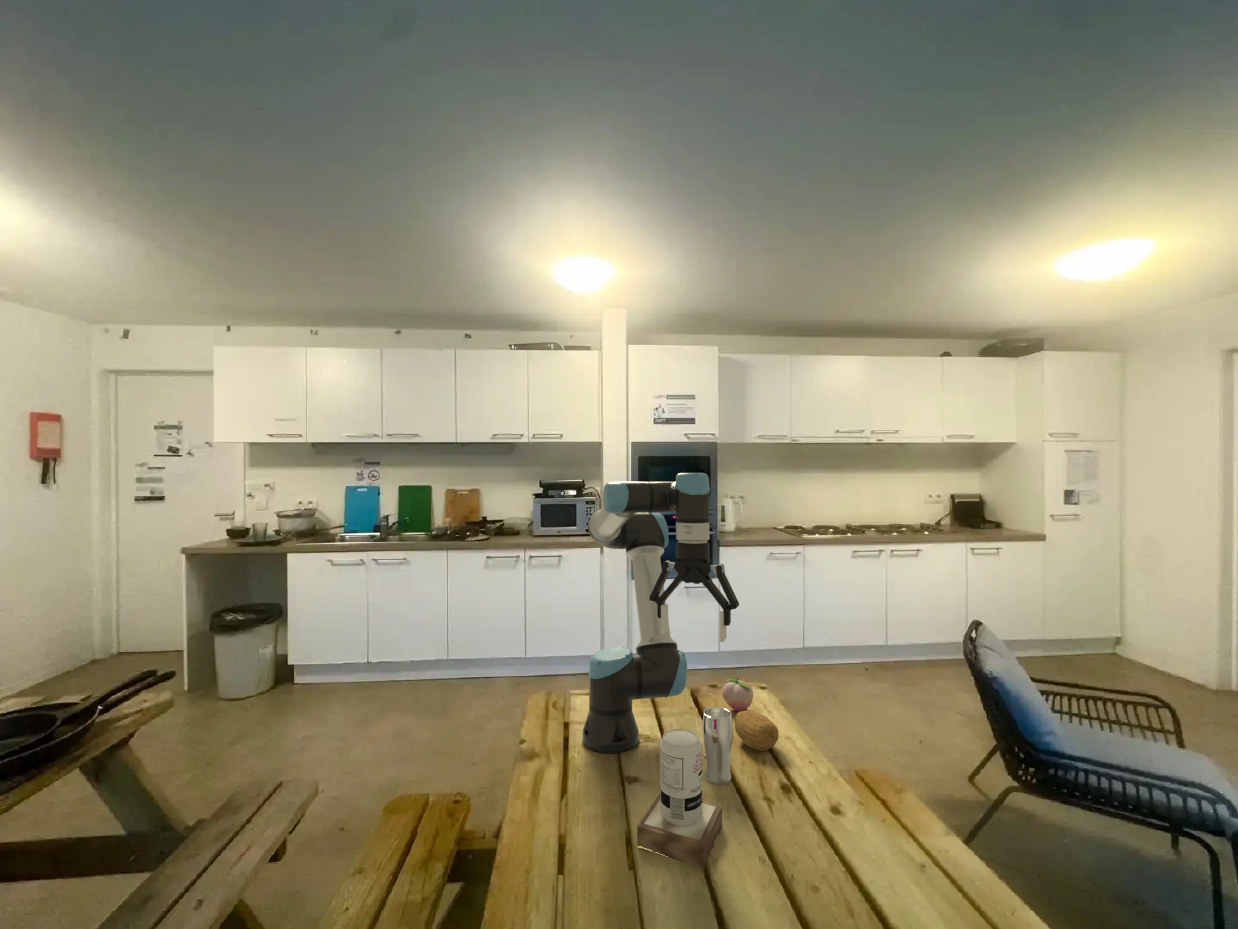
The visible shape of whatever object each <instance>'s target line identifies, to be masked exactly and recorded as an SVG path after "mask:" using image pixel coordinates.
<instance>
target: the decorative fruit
mask: <svg viewBox="0 0 1238 929" xmlns="http://www.w3.org/2000/svg"><path fill="white" fill-rule="evenodd" d="M724 683H725V684H724V686H723V687H722V693H721V694H722V698H723V700H724V702H726V704H727V705H728V707H730V708H731V709H733V710H734V711H737V712H741V711H745V710H746V709H748V708H749V707H750V706H751V704H752V702H753V699H754V691H753V688H752V687H751V686H750V684H748V683H747V682H746V681H745V680H744V681H743V680H740V679H739V677H737V679H735V678H728V679H726V680H725V682H724Z"/></svg>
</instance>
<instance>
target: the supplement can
mask: <svg viewBox="0 0 1238 929" xmlns="http://www.w3.org/2000/svg"><path fill="white" fill-rule="evenodd" d="M702 746H703V744H702V743H701V741H700V738H699V735H697V733H695V731H694V732H693V731H692V730H688V729H683V728H676V729H675V728H674V729H670V730H667V731H665V732H664V733H663V735H662V738H661V739H660V742H659V794H660V813H661V815H662V817H664V818H665V820H666V821H668V822H669V823H671V824H673V825H676V826H690V825H693V824H695V823H696V822H697V821H698V820H699V819H700V818H701V816H702V801H703V747H702Z"/></svg>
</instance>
